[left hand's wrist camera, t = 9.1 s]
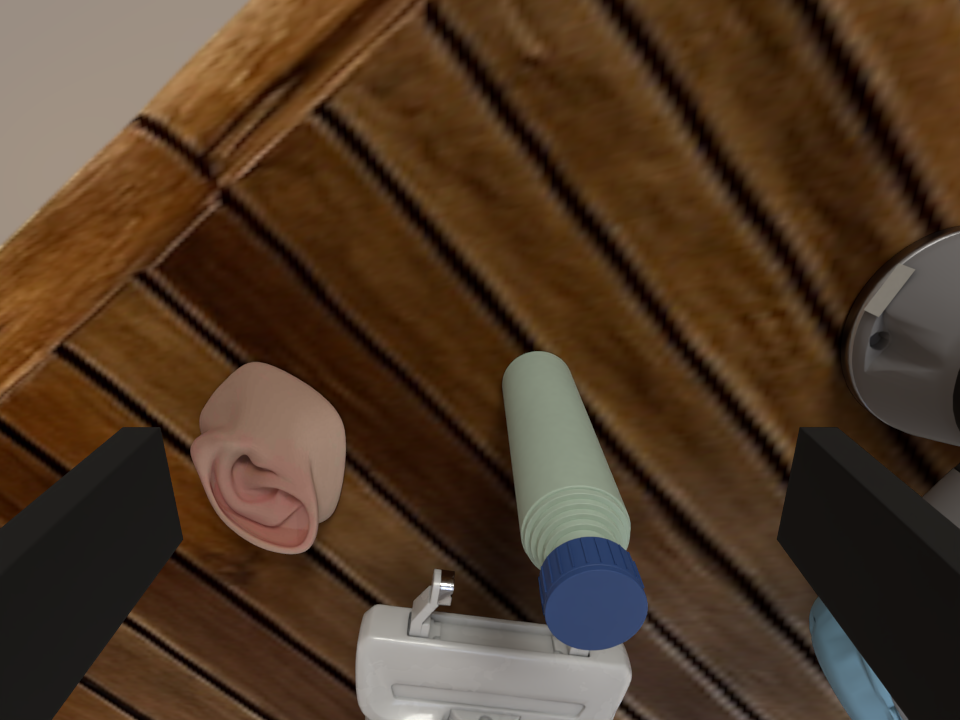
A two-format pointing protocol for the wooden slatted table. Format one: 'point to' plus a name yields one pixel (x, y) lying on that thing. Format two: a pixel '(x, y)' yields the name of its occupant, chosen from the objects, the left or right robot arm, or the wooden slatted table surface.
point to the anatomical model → (270, 457)
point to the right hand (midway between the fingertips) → (510, 583)
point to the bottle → (557, 460)
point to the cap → (592, 594)
